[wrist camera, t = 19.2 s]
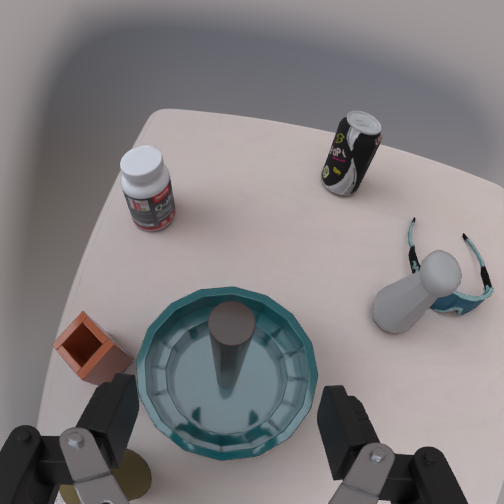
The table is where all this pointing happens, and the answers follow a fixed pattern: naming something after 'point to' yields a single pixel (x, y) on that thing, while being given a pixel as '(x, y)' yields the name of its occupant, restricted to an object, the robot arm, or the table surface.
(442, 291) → the salt shaker
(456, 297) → the sunglasses
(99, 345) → the holder
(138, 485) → the cork
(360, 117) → the beverage can
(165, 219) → the pill bottle
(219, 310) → the stick
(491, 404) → the table surface
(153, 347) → the bowl
